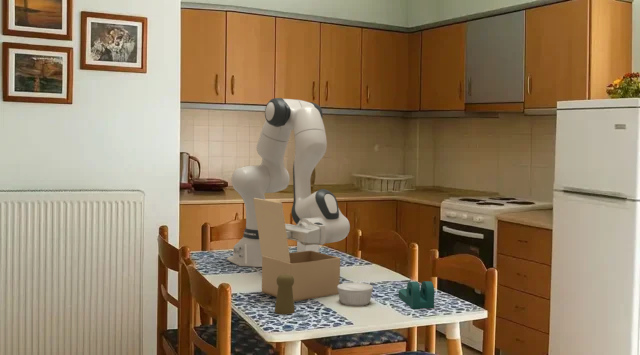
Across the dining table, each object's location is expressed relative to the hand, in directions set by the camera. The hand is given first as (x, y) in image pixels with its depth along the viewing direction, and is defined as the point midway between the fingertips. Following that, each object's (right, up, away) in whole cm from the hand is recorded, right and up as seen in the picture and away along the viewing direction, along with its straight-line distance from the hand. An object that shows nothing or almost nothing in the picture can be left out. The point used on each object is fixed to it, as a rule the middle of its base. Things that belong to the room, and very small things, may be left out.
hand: (274, 234), depth 226 cm
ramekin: (+25, -21, -2) cm, 33 cm away
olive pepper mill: (+4, -22, -15) cm, 27 cm away
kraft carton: (+8, -20, +9) cm, 23 cm away
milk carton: (+9, -15, +84) cm, 86 cm away
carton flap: (-1, +2, 0) cm, 2 cm away
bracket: (+45, -22, +1) cm, 50 cm away
